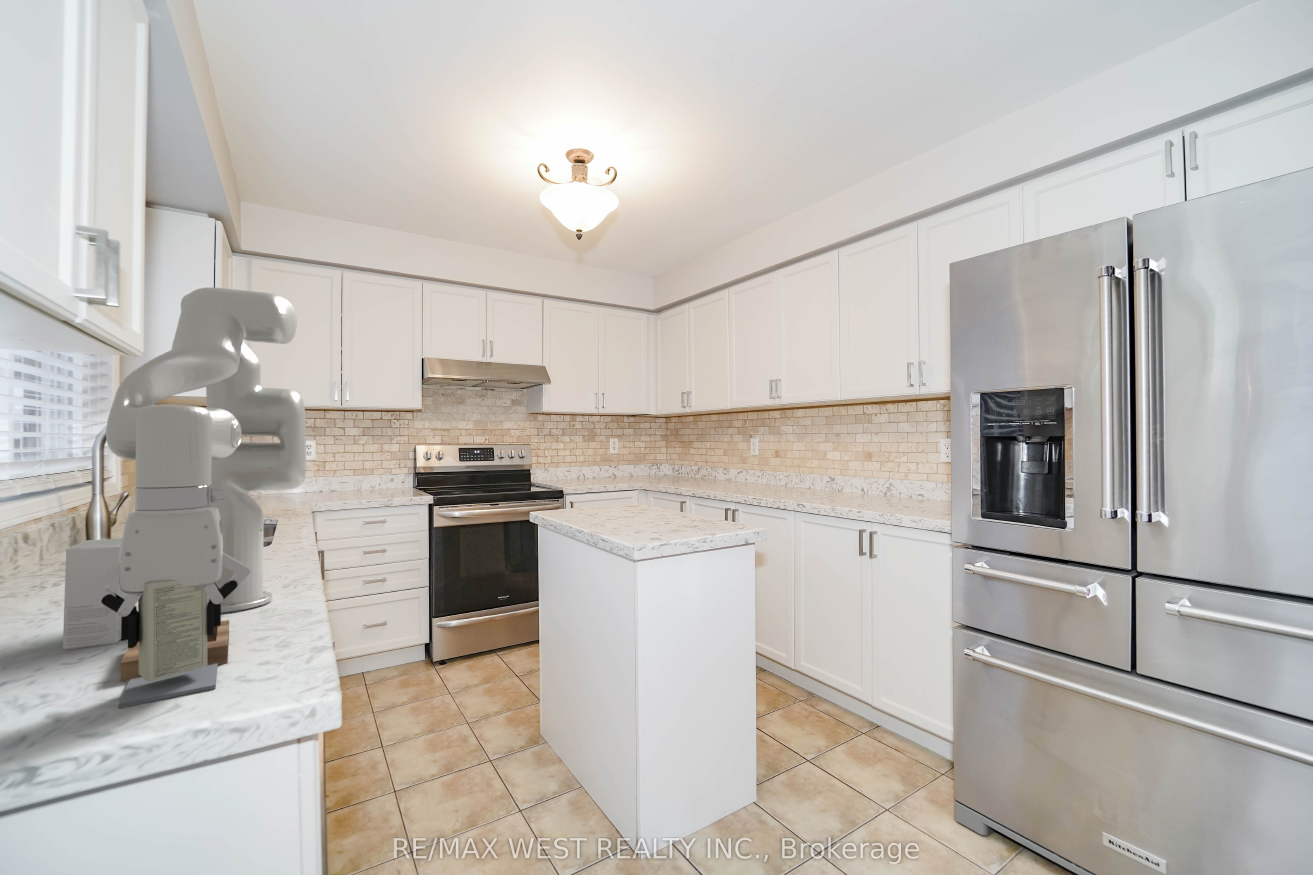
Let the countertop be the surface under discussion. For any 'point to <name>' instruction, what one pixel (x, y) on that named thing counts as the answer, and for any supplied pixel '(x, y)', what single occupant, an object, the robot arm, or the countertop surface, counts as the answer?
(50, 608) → the countertop surface
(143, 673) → the skincare box
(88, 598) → the skincare box
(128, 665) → the hollow wooden block
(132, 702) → the slate mat
